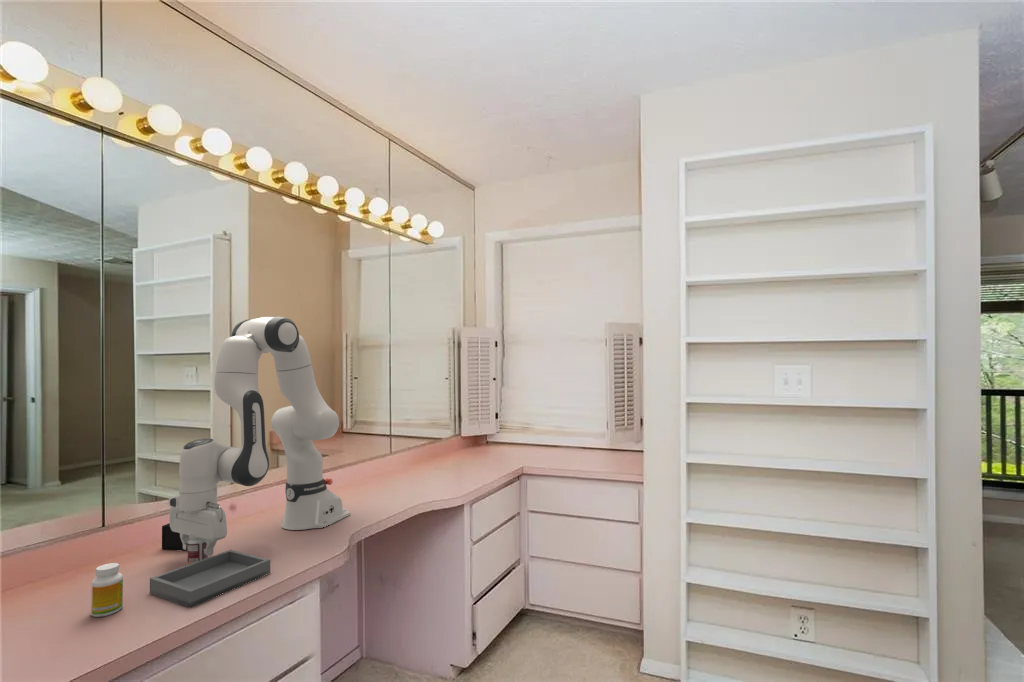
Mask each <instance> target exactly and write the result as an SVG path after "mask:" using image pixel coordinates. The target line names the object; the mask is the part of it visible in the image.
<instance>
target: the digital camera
mask: <svg viewBox="0 0 1024 682" xmlns="http://www.w3.org/2000/svg"><path fill="white" fill-rule="evenodd" d="M162 549H163V550H162ZM161 550H162V551H177V550H182V551H181V552H188V550H184V549H183V543H182V541H181V538H180V533H177V532H173V531H172V530H171V528H170V522H169V523H166V524H163V525H162V526H161Z"/></svg>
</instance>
